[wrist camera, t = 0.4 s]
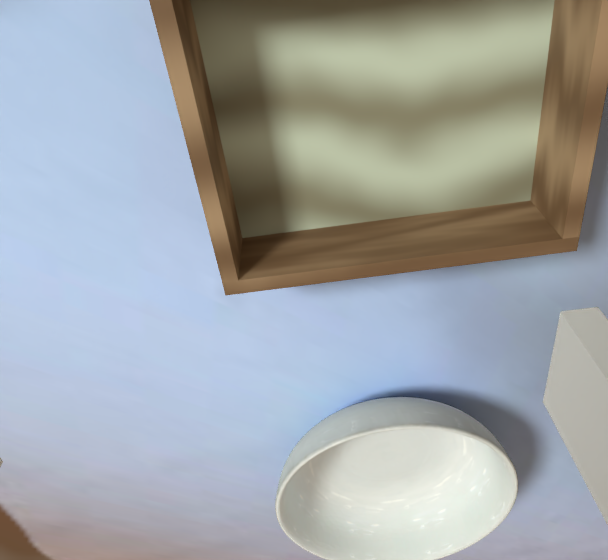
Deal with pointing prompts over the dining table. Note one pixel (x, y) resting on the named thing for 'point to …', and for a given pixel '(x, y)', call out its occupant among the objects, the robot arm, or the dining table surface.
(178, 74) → the crate
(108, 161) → the dining table surface
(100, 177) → the dining table surface
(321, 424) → the serving bowl
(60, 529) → the dining table surface
